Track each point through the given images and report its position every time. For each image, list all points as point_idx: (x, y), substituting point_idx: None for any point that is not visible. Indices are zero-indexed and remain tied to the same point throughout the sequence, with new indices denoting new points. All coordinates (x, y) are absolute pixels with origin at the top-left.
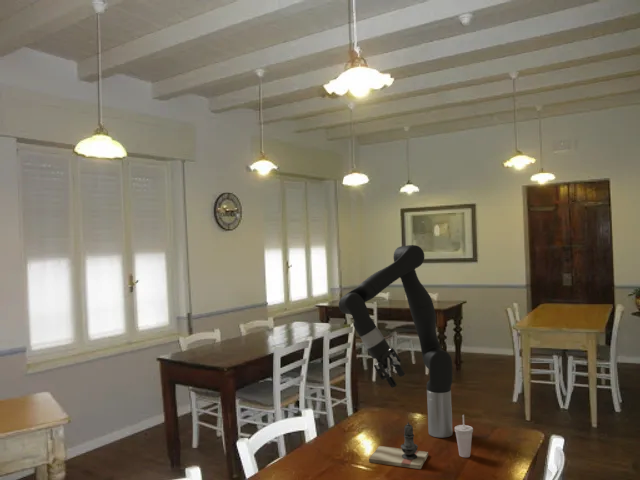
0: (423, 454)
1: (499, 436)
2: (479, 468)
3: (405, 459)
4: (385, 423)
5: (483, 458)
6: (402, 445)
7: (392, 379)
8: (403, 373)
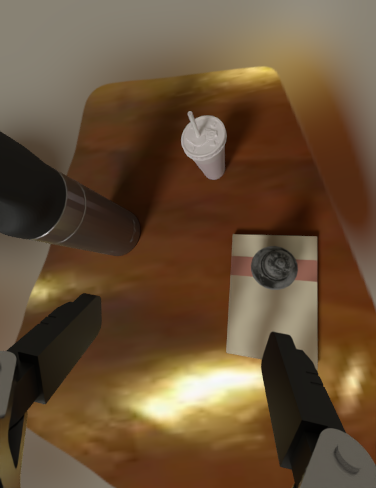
0: (249, 241)
1: (117, 134)
2: (270, 132)
3: None
4: None
5: None
6: (277, 285)
7: (310, 389)
8: (93, 302)
